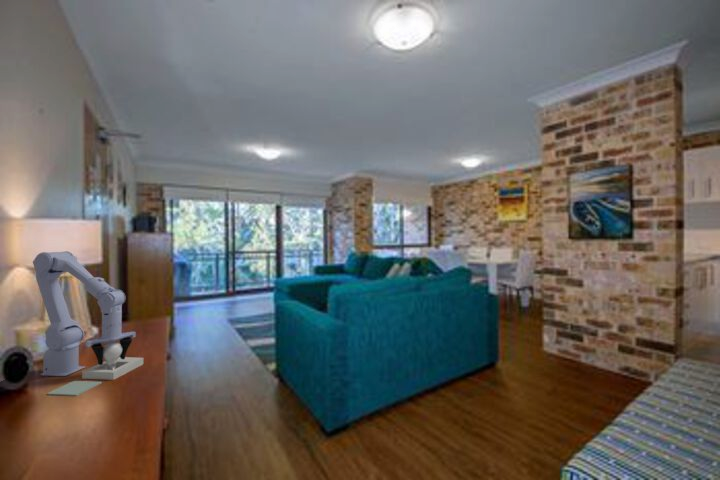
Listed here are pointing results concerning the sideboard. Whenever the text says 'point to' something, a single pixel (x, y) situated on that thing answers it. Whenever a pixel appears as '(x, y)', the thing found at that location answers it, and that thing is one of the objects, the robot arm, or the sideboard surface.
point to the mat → (74, 388)
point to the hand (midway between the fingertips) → (111, 361)
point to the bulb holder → (121, 369)
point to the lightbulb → (112, 354)
